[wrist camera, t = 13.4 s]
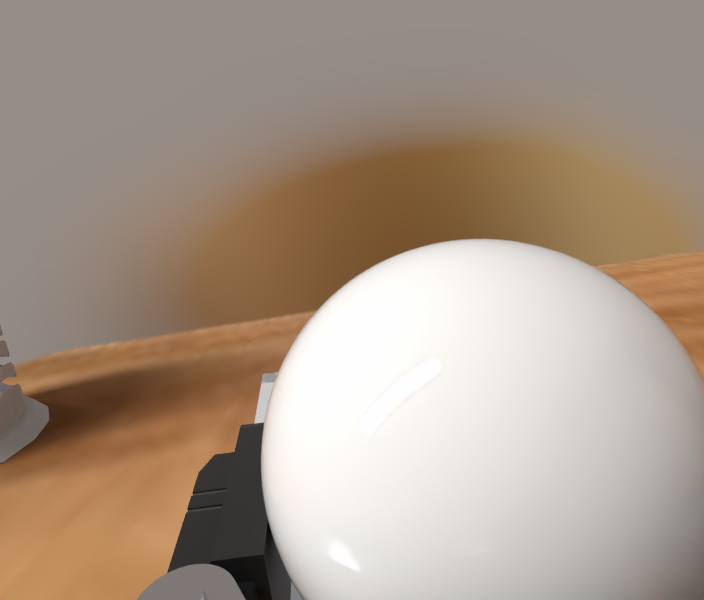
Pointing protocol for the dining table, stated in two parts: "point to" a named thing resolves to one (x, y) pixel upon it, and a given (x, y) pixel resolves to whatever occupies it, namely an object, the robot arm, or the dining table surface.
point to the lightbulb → (487, 436)
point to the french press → (17, 413)
